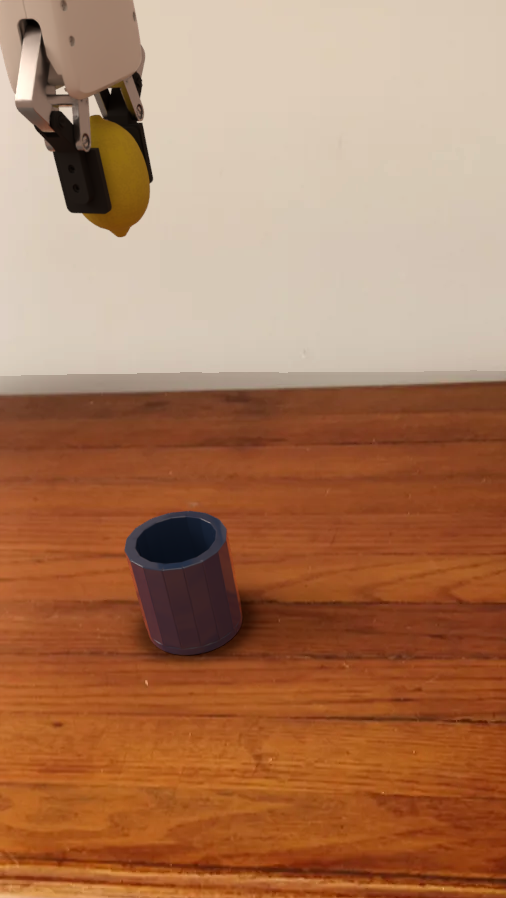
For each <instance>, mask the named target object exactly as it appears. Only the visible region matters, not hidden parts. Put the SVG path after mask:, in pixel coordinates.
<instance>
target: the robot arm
mask: <svg viewBox="0 0 506 898" xmlns="http://www.w3.org/2000/svg"><path fill="white" fill-rule="evenodd" d="M137 18H138V17H137V12H136V9H135V3H134V0H0V49H1V50H0V51H1V55H2V59H3V62H4V66H5V70H6V73H7V77H8V81H9V84H10V87H11V89H12V91H13V93H14V94H15V96H14V105H15V108H16V110H17V111H18V112H19V113H20V114H21V115H22V116H23V117H24V118H25V119H26V120H27V121H28V122H29V123H30V124H31V125H33V127H34V129H35V131H36V132H37V133H38V134H39V135H40V136H41V137H42V138H43V141H44V145H45V147H46V150H47V151H48V152H50V153H51V152H52V154H53V159H54V163H55V167H56V170H57V175H58V178H59V183H60V187H61V191H62V195H63V198H64V199H63V200H64V203H65V206H66V209H67V210H68V212H70V213H71V214H82V213H86V214H106V213H108V212H109V211H111V209H112V205H111V201H110V196H109V192H108V187H107V183H106V178H105V174H104V169H103V165H102V160H101V156H100V152H99V148H91V130H90V116H91V115H90V101H89V100H90V99H89V98H90V97H92V96H94V99H95V102H96V104H97V107H98V109H99V112H100V114H101V117H102V118H103V119H104V120H108V121H111V122H114V123H116V124H118V125H120V126H121V127H123V128H124V129H125V130H127V131H128V132H129V133H130V134H131V135H132V137H133V138H134V139H135V141H136V142H137V144H138V146H139V148H140V150H141V152H142V155H143V157H144V160H145V163H146V166H147V171H148V175H149V182H150V184H151V183H153V181H154V175H153V170H152V165H151V160H150V155H149V149H148V144H147V139H146V134H145V129H144V124H143V122H142V121H144V118H145V108H144V105H143V103H142V99H141V97H142V91H143V90H142V89H143V79H142V76H143V71H144V67H145V62H146V52H145V49H144V47H143V45H142V44H141V43H142V42H141V37H140V29H139V23H138V19H137ZM63 87H64V88H63ZM61 88H63V90H64V92H66V94H65V93H64V94H62V93H61V94H60V93H59V94H57V90H58V89H61ZM109 89H110V90H109ZM60 108H71V113H72V114H71V115H72V122H71V121H70V119H69V118H68V116H67V115H65V114H64V112H62V110H60Z"/></svg>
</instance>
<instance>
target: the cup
mask: <svg viewBox="0 0 506 898" xmlns="http://www.w3.org/2000/svg"><path fill="white" fill-rule="evenodd" d="M228 533H229V532H228V529H227V527H226V525H224V523H223V522H222V520H221V519H219V518H218V517H216V516H214V515H211V514H210V513H207V512H201V511H194V510H182V511H181V510H180V511H173V512H172V511H171V512H167V513H164V514H161V515H158V516H153V517H152V518H149V519H148V520H146V521H145V522H143V523H141V524H140V525H138V526H136V527H135V528H134V529H133V530H132V531H131V533H130V534H129V535H128V536H127V537H126V540H125V543H124V549H123V551H124V555H125V557H126V562H127V565H128V569H129V572H130V576H131V579H132V583H133V587H134V590H135V594H136V597H137V601H138V604H139V608H140V612H141V615H142V619H143V622H144V627H145V629H146V630H147V634H148V637H149V640H150V641H151V643H152V644H153V645H154V646H155V647H156V648H158V649H159V650H161V651H163V652H165V653H168V654H172V655H180V656H195V655H200V654H205V653H207V652H211V651H214V650H216V649H218V648H220V647H222V646H224V645H225V644H227V643H228V642H230V641H231V640H232V639H233V638H234V637H235V636H236V635H237V634H238V632H239V631H240V629H241V627H242V624H243V619H244V618H243V612H242V602H241V598H240V592H239V591H240V590H239V586H238V581H237V575H236V570H235V565H234V561H233V555H232V550H231V543H230V539H229V534H228Z"/></svg>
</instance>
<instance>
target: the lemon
mask: <svg viewBox="0 0 506 898" xmlns="http://www.w3.org/2000/svg"><path fill="white" fill-rule="evenodd" d="M90 130H91V148H99V152H100V156H101V160H102V165H103V169H104V174H105V178H106V183H107V187H108V192H109V196H110V201H111V205H112V209H111V211H109V212H108V213H106V214H86V213H81V214H82V215H83V216H84V218H86V220H87V221H89V222H90V223H91V224H93V225H94V226H96V227H98V228H100V229H103V230H107V231H109V232H110V233H111V234H113V235H114V236H115V237H117V238H124V237H126V236H127V234H128V233H129V231H130V230H131V228H132V227H133V226H134V225H136V224H138V222H140V220H141V219H142V218H143V217H144V216H145V213H146V211H147V209H148V207H149V203H150V198H151V183H150V182H149V175H148V171H147V166H146V163H145V160H144V157H143V155H142V152H141V150H140V148H139V146H138V144H137V142H136V141H135V139H134V138H133V137H132V135H131V134H130V133H129V132H128V131H127V130H125V129H124V128H123V127H121V126H120V125H118V124H116V123H114V122H111V121H108V120H104V119H103V116H102V115H100V114H93V115H90Z"/></svg>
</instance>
